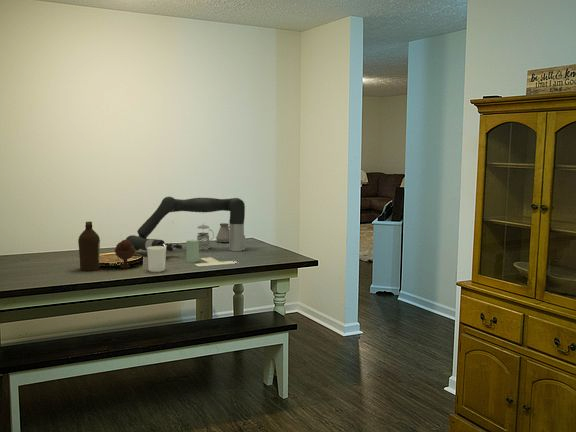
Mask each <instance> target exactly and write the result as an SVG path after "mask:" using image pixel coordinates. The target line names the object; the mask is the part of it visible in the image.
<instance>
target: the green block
mask: <svg viewBox="0 0 576 432" xmlns="http://www.w3.org/2000/svg"><path fill="white" fill-rule="evenodd" d="M199 243H200V242H199V240H197V239H187V240H186V263H187V262H188V263H194V264H195V263H197V262H200V249H199V245H200V244H199Z"/></svg>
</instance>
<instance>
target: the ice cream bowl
mask: <svg viewBox="0 0 576 432" xmlns="http://www.w3.org/2000/svg"><path fill="white" fill-rule="evenodd" d="M114 253H115V255H116V256H117V257H118V258H119V259H121V260H122V261H123V264H120V265H119V268H122V269H127V268H131V265H130V264H128V260H129V259H131V258H132V257H133V256H135V254H136V251H135V249H134V246H133V245H131V242H130V241H129V240H126V239H122V240H121V241H120V242H118V243H117V244H116V246H115V248H114Z"/></svg>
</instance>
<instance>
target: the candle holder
mask: <svg viewBox="0 0 576 432" xmlns="http://www.w3.org/2000/svg"><path fill="white" fill-rule="evenodd" d="M166 256H167V251H166V247H163V246H152V247H148V248H147V265H148V266H147V268H148V271H149V272H152V273H158V272H159V273H160V272H165V270H166V258H167V257H166Z"/></svg>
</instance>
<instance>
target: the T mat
mask: <svg viewBox="0 0 576 432" xmlns="http://www.w3.org/2000/svg"><path fill="white" fill-rule="evenodd" d="M199 260H203V261H204V262H201V263H194V265H195V266H196V267H209V266H223V265H233V264H234V265H235V263H237V262H238V261H236V260H228V261H227V260H226V261H220V260H217V259H215V258H213V257H202V258H201V257H199ZM233 261H234V262H233ZM237 264H238V263H237Z"/></svg>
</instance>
